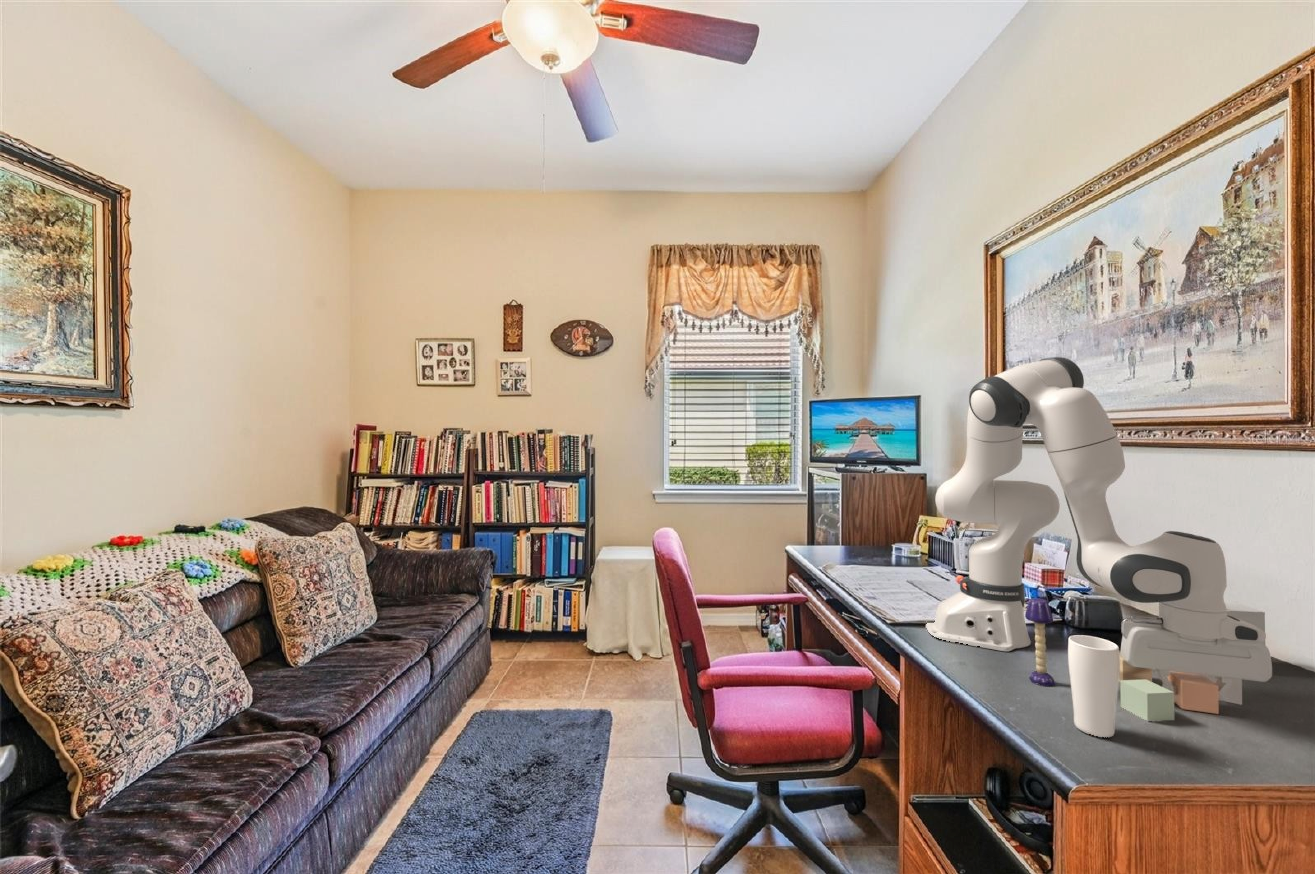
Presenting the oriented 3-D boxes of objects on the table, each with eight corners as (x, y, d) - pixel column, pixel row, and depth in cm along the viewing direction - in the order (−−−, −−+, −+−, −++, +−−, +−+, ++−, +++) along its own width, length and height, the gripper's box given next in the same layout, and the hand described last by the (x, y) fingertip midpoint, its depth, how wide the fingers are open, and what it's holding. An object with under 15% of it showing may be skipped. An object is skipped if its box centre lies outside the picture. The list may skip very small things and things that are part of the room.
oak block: (1122, 685, 106) (1122, 660, 106) (1107, 674, 111) (1106, 650, 111) (1152, 687, 105) (1151, 662, 105) (1134, 676, 110) (1134, 652, 110)
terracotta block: (1182, 709, 96) (1182, 681, 96) (1167, 696, 101) (1167, 670, 101) (1218, 714, 94) (1218, 685, 94) (1201, 700, 99) (1201, 674, 99)
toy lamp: (1046, 689, 104) (1045, 604, 104) (1020, 679, 108) (1020, 598, 108) (1059, 683, 106) (1058, 601, 106) (1033, 674, 111) (1033, 594, 111)
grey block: (1203, 697, 101) (1203, 671, 101) (1197, 687, 105) (1197, 662, 105) (1242, 705, 98) (1241, 678, 98) (1234, 694, 102) (1234, 668, 102)
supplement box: (1267, 672, 110) (1267, 612, 110) (1225, 670, 112) (1224, 610, 112) (1236, 658, 118) (1236, 601, 118) (1197, 655, 119) (1196, 599, 119)
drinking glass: (1058, 721, 93) (1057, 635, 93) (1094, 718, 93) (1093, 633, 93) (1093, 743, 86) (1092, 651, 86) (1131, 740, 86) (1130, 649, 86)
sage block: (1147, 722, 92) (1147, 693, 92) (1120, 707, 97) (1120, 680, 97) (1174, 721, 92) (1174, 692, 92) (1146, 706, 97) (1145, 679, 97)
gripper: (1129, 620, 98) (1129, 694, 98) (1278, 634, 91) (1279, 714, 91) (1113, 609, 104) (1114, 679, 104) (1253, 621, 97) (1253, 697, 97)
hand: (1192, 696), depth 97 cm, fingers closed on terracotta block, 5 cm apart
